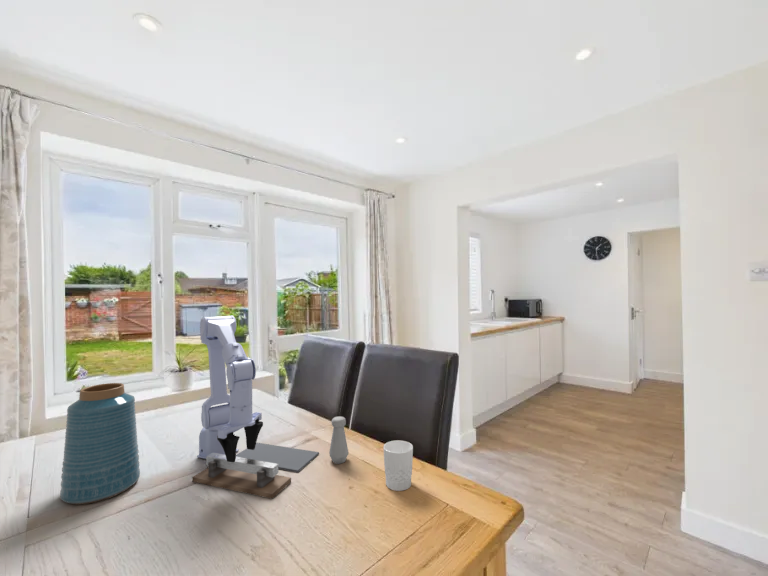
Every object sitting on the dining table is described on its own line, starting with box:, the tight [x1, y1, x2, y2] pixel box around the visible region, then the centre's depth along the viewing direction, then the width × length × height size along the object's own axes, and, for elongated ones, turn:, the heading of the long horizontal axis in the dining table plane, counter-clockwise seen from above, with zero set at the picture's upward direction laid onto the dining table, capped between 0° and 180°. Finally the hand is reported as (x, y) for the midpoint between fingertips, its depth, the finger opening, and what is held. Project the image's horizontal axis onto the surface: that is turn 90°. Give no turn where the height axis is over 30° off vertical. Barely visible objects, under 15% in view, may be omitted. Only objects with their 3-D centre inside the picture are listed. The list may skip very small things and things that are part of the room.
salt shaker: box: [328, 415, 349, 465], centre depth 106 cm, size 6×6×13 cm
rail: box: [205, 453, 279, 478], centre depth 95 cm, size 22×2×2 cm, turn 71°
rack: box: [191, 461, 292, 499], centre depth 95 cm, size 26×8×5 cm, turn 71°
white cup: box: [383, 439, 414, 492], centre depth 93 cm, size 8×8×10 cm
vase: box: [59, 382, 141, 505], centre depth 92 cm, size 16×16×27 cm
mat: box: [236, 442, 320, 473], centre depth 109 cm, size 24×12×1 cm, turn 71°
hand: (241, 455), depth 95 cm, fingers open, 7 cm apart
